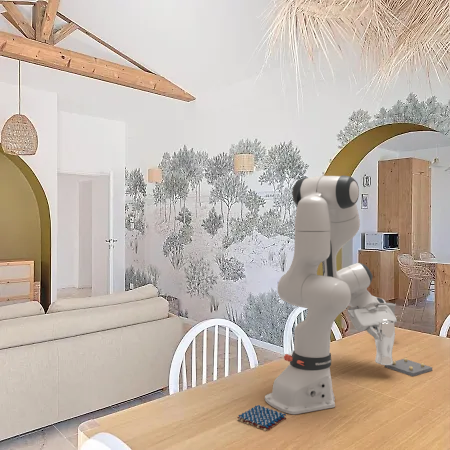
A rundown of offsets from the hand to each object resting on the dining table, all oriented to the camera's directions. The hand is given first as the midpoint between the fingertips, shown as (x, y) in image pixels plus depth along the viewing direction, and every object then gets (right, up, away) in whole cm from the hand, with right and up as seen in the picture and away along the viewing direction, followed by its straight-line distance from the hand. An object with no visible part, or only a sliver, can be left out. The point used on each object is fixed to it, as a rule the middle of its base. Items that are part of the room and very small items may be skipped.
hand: (385, 337), depth 158 cm
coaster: (+12, -14, +9) cm, 20 cm away
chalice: (+16, -14, +42) cm, 47 cm away
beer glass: (0, -9, +1) cm, 9 cm away
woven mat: (-48, -15, -34) cm, 61 cm away
